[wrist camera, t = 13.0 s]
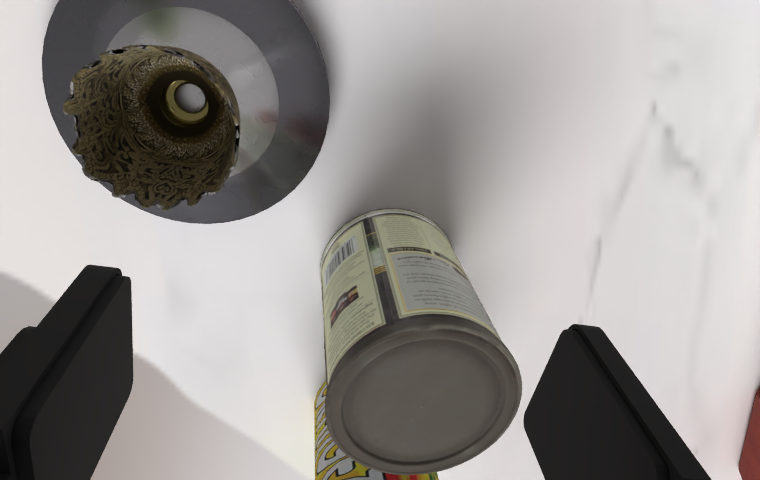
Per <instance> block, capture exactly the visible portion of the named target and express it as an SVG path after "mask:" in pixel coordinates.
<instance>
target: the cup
mask: <svg viewBox="0 0 760 480" xmlns="http://www.w3.org/2000/svg"><path fill="white" fill-rule="evenodd" d="M184 84H193V85H195V86H197V87H199V88H200V89H201V90H202V92H203V94H204V96H205V104H204V106H203V108H202V109H201V110H199V111H197V112H187V111H185V110H183V109H182V108H181V107H180V106H179V105H178V103H177V101H176V91H177V89H178V88H179V87H180V86H182V85H184ZM69 92H70V94H69V95H70V97H68V98H67V99H66V100H65V102H64V105H63V112H64V113H65V114H69V115H70V116H71V115H73V116H74V125H73V129H74V130H75V132H76V134H77V138H76V142H75V143H74V145H73V146H72V152H73V153H74V154H75V155H77V156H82V167H83V168H82V170H83V173H84V175H86V176H87V177H88V178H89V179H91V180H94V181H97V182H106V183H108V184H110V185H112V189H111V191H112V196H113V197H118V198H119V197H125V196H127V195H129V194H132V193H134V198H135V200H136V201H138V203H139V204H140V205H141V206H142V207H143V208H150V207H151V206H156V205H157V206H158V207H159V208H161V209H162V210H165V211H166V210H170V209H173V208H174V207H176V206H178V205H179V204H180V203H181V202H183V201H185V200H186V201H187V205H188V206H189V207H192V206H194V205H196V204H197V203H198V202H199V200H200V199H201V197H203V196H204V195H207V194H209V195H213V194H215V193H218V192H219V191H220V190H221V189H222V188H223V186H224V185H225V183H226V181H227V179H228V177H229V175H230V173H231V171H232V169H234V168H235V166H236V164H237V161H238V156H239V154H238V150H239V140H240V113H239V106H238V103H237V99H236V97H235V94H234V91H233V89H232V87H231V86H230V84H229V82H228V81H227V79H226V78H225V77H224V75H223V74H222V73H221V72H220V71H219V70H218V69H217V68H216V67H215V66H214V65H213V64H212V63H210V62H209V61H207V60H206V59H205V58H203V57H201V56H199V55H197V54H195V53H193V52H190V51H188V50H185V49H181V48H177V47H172V46H161V45H130V46H125V47H121V49H116V50H109V51H106V52H104V53H101V54H99V55H98V59H97V60H95V61H94V62H92V63H90V64H88V65H85V66H84V67H83V68H82V69H80V70H79V71H78V72H77V73H76V74H75V75H74V76H73V78H72V80H71V82H70V90H69Z"/></svg>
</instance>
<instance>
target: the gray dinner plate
mask: <svg viewBox="0 0 760 480" xmlns="http://www.w3.org/2000/svg"><path fill="white" fill-rule="evenodd" d="M130 45H161V46H172V47H177V48H181V49H185V50H188V51H190V52H193V53H195V54H197V55H199V56H201V57H203V58H205V59H206V60H207V61H209V62H210V63H212V64H213V65H214V66H215V67H216V68H217V69H218V70H219V71H220V72H221V73H222V74H223V75H224V77H225V78H226V79H227V81H228V82H229V84H230V86H231V87H232V89H233V91H234V94H235V97H236V99H237V103H238V106H239V113H240V140H239V150H238V154H239V156H238V161H237V164H236V166H235V168H234V169H232V171H231V173H230V175H229V177H228V179H227V181H226V183H225V185H224V186H223V188H222V189H221V190H220V191H219V192H218V193H215V194H213V195H209V194H207V195H204V196H203V197H201V199H200V200H199V202H198V203H197V204H196V205H194V206H192V207H189V206H188V205H187V201H186V200H185V201H183V202H181V203H180V204H179V205H178V206H176V207H174V208H173V209H170V210H166V211H165V210H162V209H161V208H159V207H158V206H157V205H156V206H151V207H150V208H143V207H142V206H141V205H140V204H139V203H138V201H136V200H135V198H134V193H132V194H129V195H127V196H125V197H119V198H121V199H122V200H124V201H126V202H127V203H129V204H131V205H133V206H135V207H137V208H139V209H141V210H144V211H146V212H149V213H151V214H154V215H156V216H160V217H163V218H167V219H171V220H175V221H181V222H187V223H202V224H211V223H224V222H230V221H235V220H240V219H243V218H246V217H249V216H252V215H255V214H257V213H259V212H261V211H264V210H266V209H268V208H270V207H271V206H273V205H274V204H276V203H278V202H279V201H281V200H282V199H283V198H285V197H286V196H287V195H288V194H289V193H290V192H292V191H293V190H294V189H295V188H296V187H297V186H298V184H299V183H300V182H301V181H302V180H303V179H304V178H305V176H306V175H307V173H308V172H309V170H310V169H311V167H312V166H313V164H314V162H315V160H316V158H317V156H318V154H319V152H320V150H321V147H322V144H323V141H324V138H325V135H326V129H327V124H328V119H329V87H328V80H327V75H326V70H325V65H324V61H323V58H322V55H321V52H320V49H319V46H318V43H317V41H316V39H315V37H314V35H313V33H312V31H311V29H310V27H309V25H308V24H307V22H306V21H305V19H304V18H303V16H302V14H301V13H300V11H299V10H298V9H297V8H296V6H295V5H294V4H293V3H292V2H291V0H59V2H58V3H57V5H56V7H55V10H54V12H53V14H52V16H51V19H50V21H49V24H48V28H47V31H46V35H45V39H44V46H43V55H42V72H43V83H44V89H45V94H46V99H47V102H48V105H49V108H50V112H51V115H52V117H53V120H54V122H55V124H56V126H57V128H58V131H59V133H60V135H61V136H62V138H63V140H64V141H65V143H66V145H67V146H68V148H69V149H70V151H71V152H72V146H73V145H74V143H75V142H76V138H77V134H76V132H75V130H74V129H73V125H74V116H73V115H71V116H70V115H69V114H65V113H64V112H63V105H64V102H65V100H66V99H67V98H68V97H70V95H69V94H70V92H69V90H70V82H71V80H72V78H73V76H74V75H75V74H76V73H77V72H78V71H79V70H80V69H82V68H83V67H84V66H85V65H88V64H90V63H92V62H94V61H95V60H97V59H98V55H99V54H101V53H104V52H106V51H109V50H116V49H121V47H125V46H130ZM176 101H177V103H178V105H179V106H180V107H181V108H182V109H183V110H185V111H187V112H197V111H199V110H201V109H202V108H203V106H204V104H205V96H204V94H203V92H202V90H201V89H200V88H199V87H197V86H195V85H193V84H184V85H182V86H180V87H179V88H178V89H177V91H176ZM72 154H73V155H74V156H75V157H76V159H77V160H78V161H79V162H80V164H81V165H82V156H77V155H75V154H74V153H73V152H72ZM99 183H100V184H102V185H103V186H104V187H105V188H106V189H108V190H109V191H110V192H112V191H111V189H112V185H110V184H108V183H106V182H99Z"/></svg>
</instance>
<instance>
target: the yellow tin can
mask: <svg viewBox="0 0 760 480" xmlns="http://www.w3.org/2000/svg"><path fill="white" fill-rule="evenodd" d="M326 391H327V383H326V382H325V383H324V384H323V386H322V387H321V389H320V390H319V391H318V393H317V396H316V400H315V403H314V409H315V480H439V479H438V475H437V472H434V473H428V474H420V475H396V474H388V473H383V472H379V471H375V470H372V469H369V468H367V467H364V466H362V465H361V464H359V463H357V462H355V461H354V460H352V459H351V458H350V457H348V456H347V455H346V454H345V453H343V452H342V451H341V450H340V449H339V447H338V446H337V445H336V444H335V442H334V441H333V439H332V438H331V436H330V433H329V431H328V428H327V424H326V419H325V397H326Z"/></svg>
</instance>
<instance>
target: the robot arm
mask: <svg viewBox="0 0 760 480" xmlns="http://www.w3.org/2000/svg"><path fill="white" fill-rule="evenodd" d="M132 384H133V346H132V302H131V280H130V278H129V277H126V276H122V272H121V270H120V269H119V268H113V267H104V266H96V265H87V266H86V267H85V268H84V269H83V270H82V271H81V273H80V274H79V275H78V276H77V278H76V279H75V280H74V281H73V283H72V284H71V285H70V286H69V287H68V289H67V290H66V291H65V292H64V294H63V295H62V296H61V297H60V299H59V300H58V301H57V302H56V304H55V305H54V306H53V307H52V309H51V310H50V311H49V312H48V314H47V315H46V316H45V317H44V318H43V320H42V321H41V322H40V324H39V325H38V326H37V327H31V326H29V327H26V328H23V329H22V330H21V331H20V332H19V333H18V334H17V335H16V336H15V337H14V339H13V340H12V341H11V342H10V343H9V345H8V346H7V347H6V348H5V349H4V350H3V351H2V353H1V354H0V480H90V479H91V477H92V474H93V472H94V470H95V468H96V466H97V464H98V462H99V460H100V457H101V455H102V453H103V451H104V449H105V447H106V445H107V442H108V440H109V438H110V436H111V434H112V432H113V430H114V427H115V425H116V423H117V421H118V419H119V417H120V414H121V412H122V410H123V408H124V406H125V403H126V402H127V400H128V398H129V395H130V392H131V389H132ZM524 428H525V431H526V434H527V436H528V439H529V441H530V443H531V446H532V448H533V451H534V453H535V456H536V458H537V461H538V463H539V465H540V468H541V470H542V473H543V475H544V478H545V480H711V478H710V477H709V476H708V474H707V473H706V472H705V470H704V469H703V468H702V466H701V465H700V463H699V462H698V461H697V459H696V458H695V457H694V455H693V454H692V452H691V451H690V450H689V448H688V447H687V446H686V444H685V443H684V441H683V440H682V439H681V437H680V436H679V435H678V433H677V432H676V430H675V429H674V428H673V426H672V425H671V424H670V422H669V421H668V419H667V418H666V417H665V415H664V414H663V413H662V411H661V410H660V408H659V407H658V406H657V404H656V403H655V402H654V400H653V399H652V398H651V396H650V395H649V393H648V392H647V391H646V389H645V388H644V387H643V385H642V384H641V382H640V381H639V380H638V378H637V377H636V376H635V374H634V373H633V371H632V370H631V369H630V367H629V366H628V365H627V363H626V362H625V360H624V359H623V358H622V356H621V355H620V354H619V352H618V351H617V349H616V348H615V347H614V345H613V344H612V343H611V341H610V340H609V338H608V337H607V336H606V334H605V333H604V332H603V330H602V329H601V328H599V327H595V326H587V325H579V324H574V325H571V326H570V327H569V329H568V330H567V329H566V330H564V331H562V333H561V334H560V337H559V339H558V341H557V343H556V345H555V348H554V350H553V352H552V354H551V356H550V359H549V361H548V363H547V365H546V367H545V370H544V372H543V374H542V376H541V378H540V381H539V383H538V385H537V387H536V389H535V392H534V394H533V396H532V398H531V400H530V403H529V405H528V407H527V409H526V411H525V414H524Z"/></svg>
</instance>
